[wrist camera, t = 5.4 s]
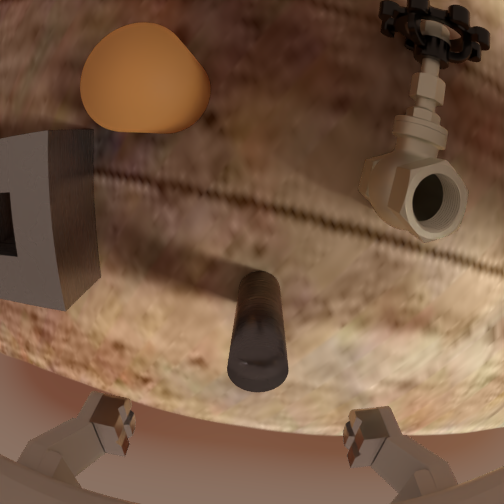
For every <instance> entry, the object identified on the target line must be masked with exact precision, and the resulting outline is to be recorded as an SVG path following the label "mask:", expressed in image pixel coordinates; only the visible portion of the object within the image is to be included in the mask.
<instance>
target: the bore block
mask: <svg viewBox="0 0 504 504" xmlns="http://www.w3.org/2000/svg"><path fill="white" fill-rule="evenodd" d="M100 278H101V274H100V266H99V257H98V247H97V236H96V224H95V208H94V186H93V130H46V131H40V132H33V133H28V134H22V135H16V136H11V137H6V138H1V139H0V298H1V299H5V300H10V301H15V302H19V303H24V304H29V305H34V306H39V307H44V308H50V309H55V310H61V311H67V310H68V309H69V308H70V307H71V306H72V305H73V304H74V303H75V302H76V301H77V300H78V299H79V298H80V297H81V296H82V295H83V294H84V293H85V292H86V291H87V290H88V289H89V288H90V287H91V286H92V285H93V284H94V283H95V282H96V281H97V280H98V279H100Z"/></svg>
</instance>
